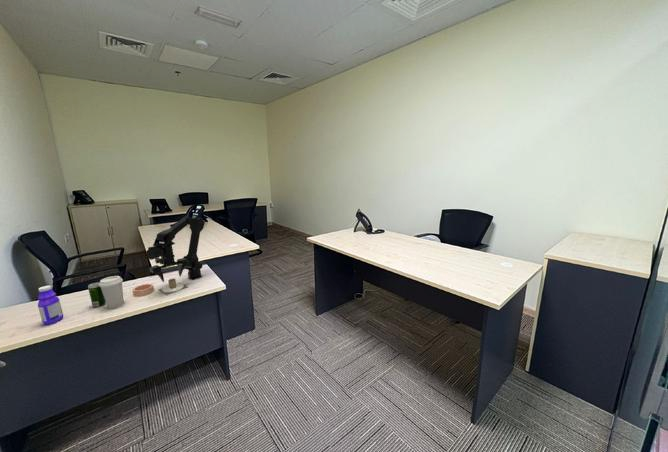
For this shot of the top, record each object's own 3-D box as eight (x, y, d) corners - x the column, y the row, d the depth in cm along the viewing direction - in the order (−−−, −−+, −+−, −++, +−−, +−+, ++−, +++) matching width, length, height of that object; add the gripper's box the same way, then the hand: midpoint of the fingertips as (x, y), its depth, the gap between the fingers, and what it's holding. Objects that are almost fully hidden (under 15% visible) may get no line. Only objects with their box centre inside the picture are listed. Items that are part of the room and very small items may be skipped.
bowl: (150, 288, 158) (149, 282, 157) (156, 292, 152) (155, 286, 151) (131, 294, 150) (130, 288, 149) (137, 298, 145) (136, 292, 144)
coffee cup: (132, 301, 142) (126, 275, 139) (116, 310, 133) (110, 283, 129) (116, 300, 143) (110, 275, 140) (99, 310, 134) (92, 282, 130)
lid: (178, 283, 163) (177, 274, 161) (187, 287, 156) (185, 278, 155) (159, 289, 154) (157, 280, 153) (167, 294, 148) (165, 285, 146)
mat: (179, 283, 163) (179, 282, 163) (188, 287, 156) (188, 287, 156) (157, 290, 154) (157, 289, 154) (166, 295, 147) (166, 295, 147)
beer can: (104, 306, 137) (99, 285, 135) (91, 308, 135) (85, 287, 132) (107, 301, 142) (102, 281, 139) (94, 304, 140) (89, 283, 137)
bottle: (54, 317, 128) (45, 284, 124) (67, 316, 128) (58, 283, 125) (39, 326, 121) (29, 291, 117) (53, 325, 121) (43, 290, 118)
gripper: (178, 247, 163) (182, 271, 166) (143, 255, 148) (148, 281, 151) (186, 250, 156) (190, 274, 160) (151, 259, 142) (156, 286, 145)
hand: (171, 279), depth 154 cm, fingers open, 9 cm apart
